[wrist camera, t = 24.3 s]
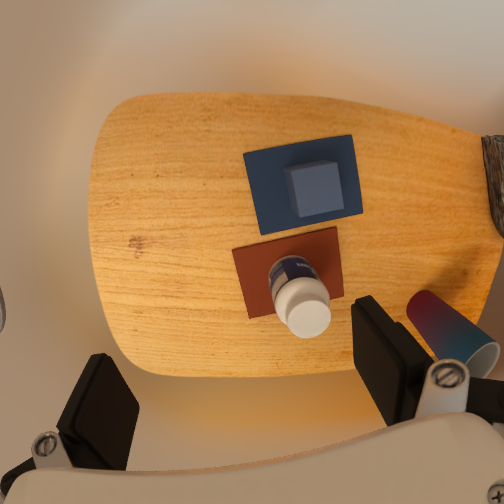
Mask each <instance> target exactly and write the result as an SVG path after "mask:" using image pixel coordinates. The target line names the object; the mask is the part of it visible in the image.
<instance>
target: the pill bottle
mask: <svg viewBox="0 0 504 504" xmlns="http://www.w3.org/2000/svg"><path fill="white" fill-rule="evenodd" d="M269 286H270V290H271V294H272V298H273V302H274V306H275V310H276V313H277V315H278V317H279V319H280V320H281V321H282V322H283V323H284V324H286V325H287V326H288V327H289V329H290V331H291V332H292V333H293V334H294V335H296V336H298V337H301V338H312V337H315V336H317V335H319V334H321V333H322V332H323V331H324V330H325V329H326V328H327V327H328V325H329V323H330V320H331V312H330V309H329V305H330V297H329V293H328V291H327V289H326V287H325V285H324V284H323V282H322V281H321V279H320V277H319V276H318V274H317V273H316V271H315V269H314V268H313V266H312V265H311V264H310V263H309V261H307V260H306V259H305V258H303V257H300V256H295V255H290V256H286V257H283V258H281V259H279V260H278V261H277V262H276V263H275V264H274V265H273V266H272V268H271V270H270V272H269Z"/></svg>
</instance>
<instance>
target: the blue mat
mask: <svg viewBox="0 0 504 504" xmlns="http://www.w3.org/2000/svg"><path fill="white" fill-rule="evenodd" d="M243 157H244V161H245V166H246V170H247V175H248V179H249V183H250V188H251V192H252V197H253V201H254V206H255V210H256V215H257V220H258V224H259V229H260V233H261V235H265V234H270V233H274V232H278V231H283V230H288V229H292V228H297V227H301V226H306V225H310V224H315V223H319V222H324V221H329V220H333V219H338V218H342V217H347V216H352V215H357V214H361V213H363V207H362V199H361V191H360V184H359V177H358V170H357V164H356V157H355V151H354V146H353V140H352V135H346V136H338V137H332V138H325V139H319V140H313V141H307V142H301V143H295V144H290V145H284V146H279V147H274V148H269V149H264V150H259V151H254V152H249V153H245V154H243ZM320 160H326V161H332V162H337V165H338V171H339V177H340V183H341V190H342V196H343V203H344V208H343V209H339V210H334V211H329V212H324V213H320V214H315V215H310V216H306V217H301V218H300V217H299V216H298V215H297V214H296V213H295V212H294V211H293V209H292V208H291V204H290V199H289V194H288V189H287V184H286V179H285V174H284V169H283V168H284V167H288V166H293V165H298V164H304V163H309V162H315V161H320Z"/></svg>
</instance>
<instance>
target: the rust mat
mask: <svg viewBox="0 0 504 504" xmlns="http://www.w3.org/2000/svg"><path fill="white" fill-rule="evenodd" d="M232 253H233V257H234V261H235V265H236V269H237V273H238V277H239V281H240V285H241V288H242V292H243V296H244V300H245V304H246V307H247V311H248V315H249V318H250V319H251V318H255V317H260V316H265V315H269V314H274V313H276V310H275V306H274V302H273V298H272V294H271V290H270V286H269V272H270V270H271V268H272V266H273V265H274V264H275V263H276V262H277V261H278V260H279V259H281V258H283V257H286V256H290V255H295V256H300V257H303V258H305V259H306V260H307V261H309V263H310V264H311V265H312V266H313V268H314V269H315V271H316V273H317V274H318V276H319V277H320V279H321V281H322V282H323V284H324V285H325V287H326V289H327V291H328V293H329V297H330V300H332V299H335V298H339V297H343V296H344V292H343V281H342V272H341V262H340V253H339V245H338V237H337V229H336V227H331V228H327V229H322V230H318V231H313V232H309V233H304V234H300V235H295V236H291V237H286V238H282V239H277V240H273V241H268V242H264V243H260V244H255V245H251V246H246V247H242V248H237V249H233V250H232Z"/></svg>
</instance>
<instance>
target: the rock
mask: <svg viewBox="0 0 504 504" xmlns="http://www.w3.org/2000/svg"><path fill="white" fill-rule="evenodd" d="M482 141H483V150H484V160H485V167H486V171H487V177H488V182H489V201H490V205H491V210H492V218H493V220H494V222H495V226H496V229H497V230H498V232H499V234H500V235H501V236H502V237H503V238H504V136H501V135H494V136H485V137H483V138H482Z"/></svg>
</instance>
